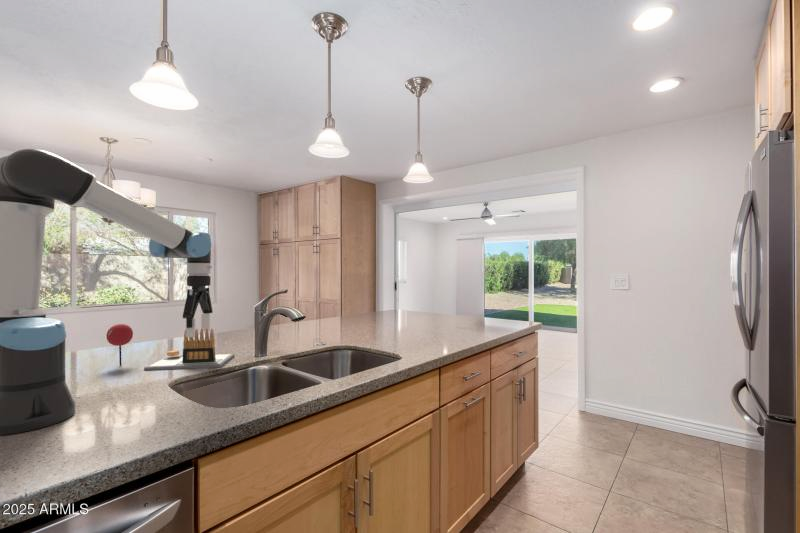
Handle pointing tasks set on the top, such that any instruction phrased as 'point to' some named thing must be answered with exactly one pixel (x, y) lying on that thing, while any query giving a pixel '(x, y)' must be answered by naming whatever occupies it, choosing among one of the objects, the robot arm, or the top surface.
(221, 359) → the board
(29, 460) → the top surface
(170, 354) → the button
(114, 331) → the lollipop
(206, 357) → the ammunition clip
